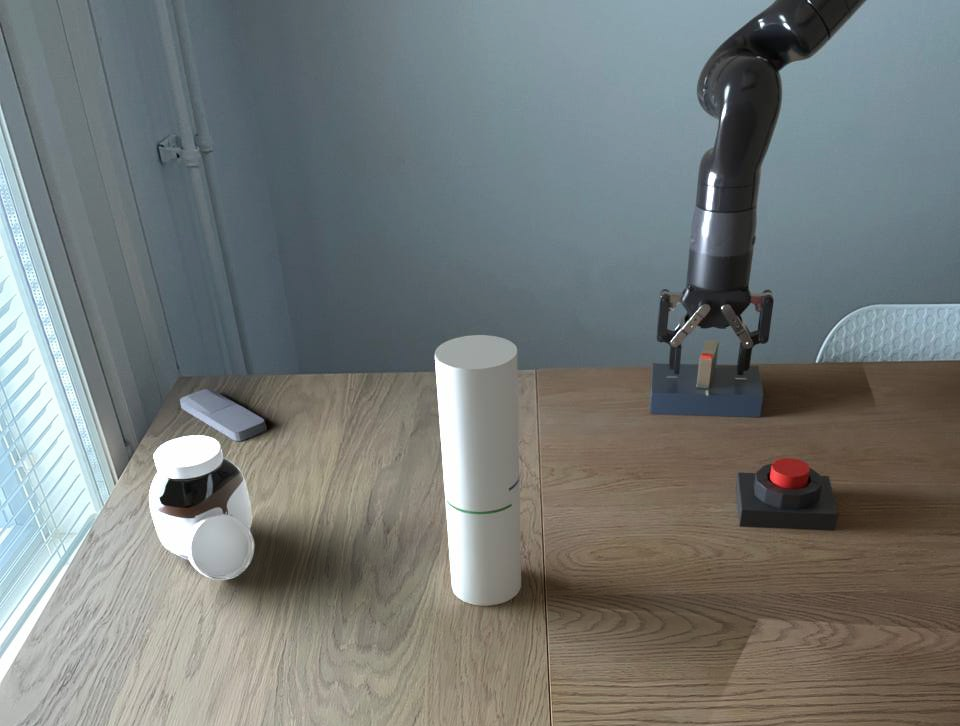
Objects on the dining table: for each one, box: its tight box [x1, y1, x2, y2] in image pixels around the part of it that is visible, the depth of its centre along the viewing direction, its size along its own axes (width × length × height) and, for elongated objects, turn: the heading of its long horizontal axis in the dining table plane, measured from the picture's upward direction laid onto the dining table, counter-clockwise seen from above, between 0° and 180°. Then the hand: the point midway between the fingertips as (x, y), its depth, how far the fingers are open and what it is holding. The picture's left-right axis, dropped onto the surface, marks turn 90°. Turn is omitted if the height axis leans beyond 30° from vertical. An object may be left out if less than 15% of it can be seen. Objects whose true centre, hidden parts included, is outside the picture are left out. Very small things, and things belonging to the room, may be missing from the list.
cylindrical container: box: [434, 334, 522, 607], centre depth 93 cm, size 7×7×25 cm
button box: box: [735, 462, 839, 532], centre depth 108 cm, size 10×8×4 cm
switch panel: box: [649, 362, 764, 418], centre depth 129 cm, size 14×10×3 cm
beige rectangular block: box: [697, 339, 720, 389], centre depth 127 cm, size 6×2×4 cm, turn 161°
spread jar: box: [148, 434, 255, 581], centre depth 103 cm, size 12×11×12 cm
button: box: [770, 457, 811, 489], centre depth 106 cm, size 4×4×2 cm
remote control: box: [179, 388, 268, 442], centre depth 132 cm, size 5×2×15 cm
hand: (707, 372), depth 128 cm, fingers open, 7 cm apart
